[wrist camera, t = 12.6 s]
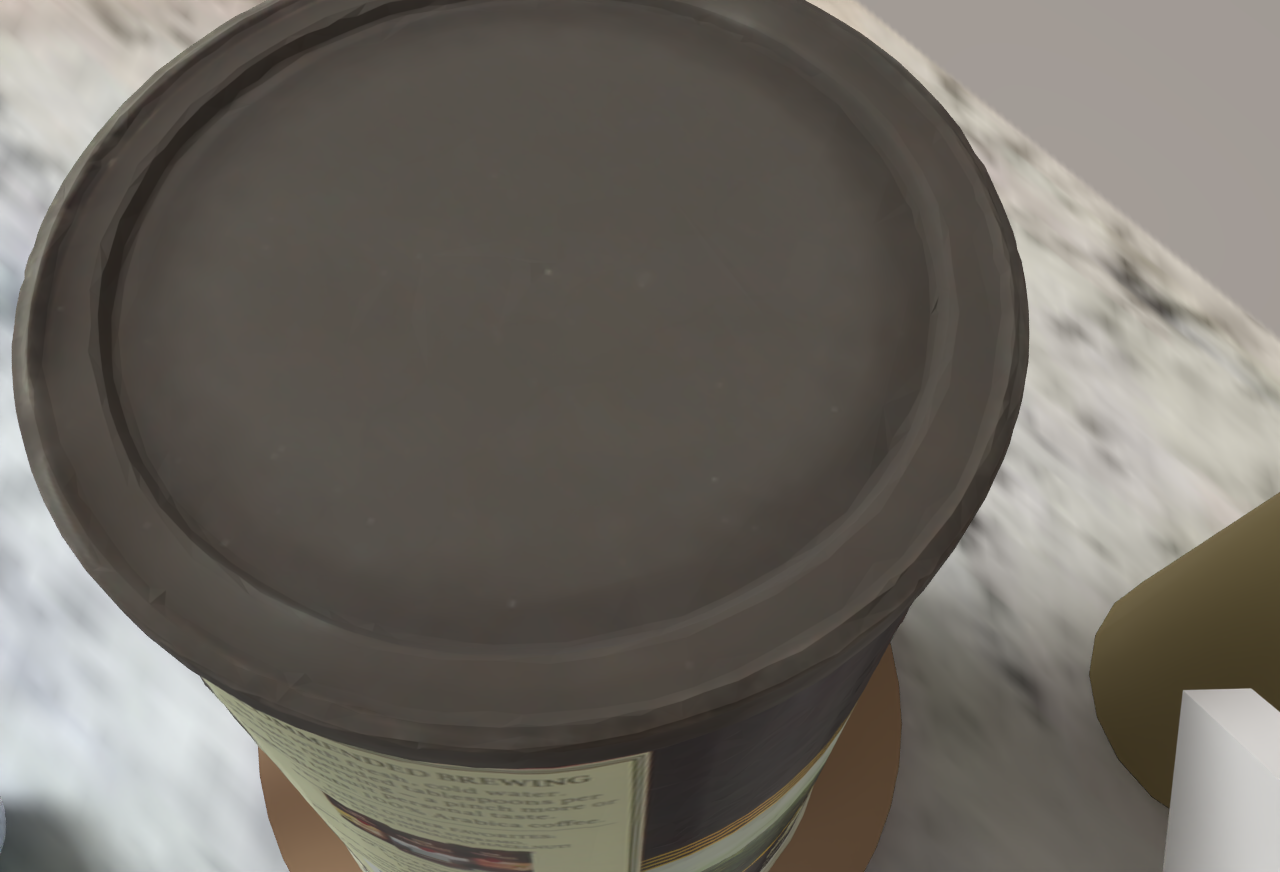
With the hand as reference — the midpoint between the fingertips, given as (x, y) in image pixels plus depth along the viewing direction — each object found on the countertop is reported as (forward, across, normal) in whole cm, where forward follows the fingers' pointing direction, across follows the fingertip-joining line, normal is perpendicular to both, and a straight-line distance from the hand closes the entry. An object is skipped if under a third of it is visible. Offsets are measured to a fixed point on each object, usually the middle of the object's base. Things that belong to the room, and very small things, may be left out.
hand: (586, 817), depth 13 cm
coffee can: (+11, 0, -4) cm, 12 cm away
